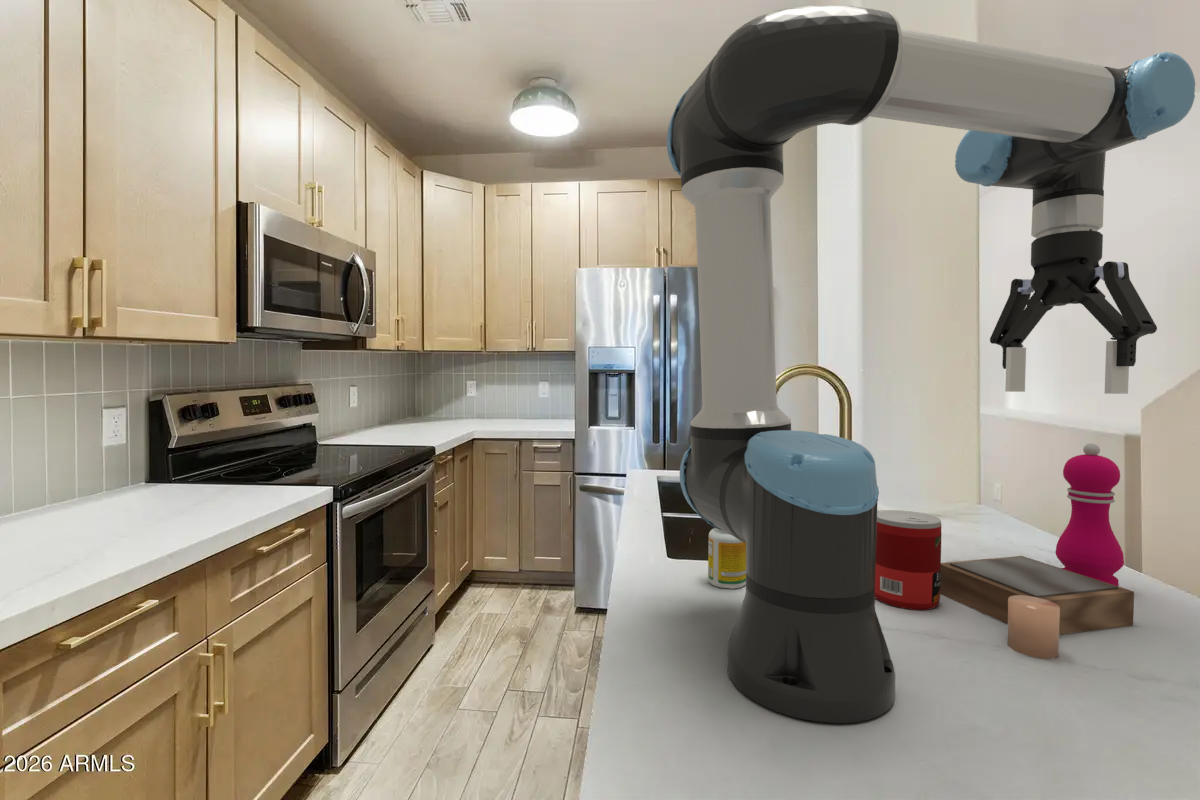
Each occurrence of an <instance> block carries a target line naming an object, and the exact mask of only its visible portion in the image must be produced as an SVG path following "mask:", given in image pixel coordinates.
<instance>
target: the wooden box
mask: <svg viewBox="0 0 1200 800" xmlns="http://www.w3.org/2000/svg"><path fill="white" fill-rule="evenodd" d="M1062 568H1063V567H1058V566H1055V565H1052V564H1048V563H1045V562H1042V561H1040V560H1035V559H1033V558H1029V557H1026V556H1023V555H1017V556H1005V557H1004V556H1003V557H992V558H981V559H971V560H959V561H950V562H949V561H948V562H941V577H940V595H942V596H945V597H947V598H948V599H951V600H954V601H956V602H958V603H960V604H962V605H965V606H966V607H968V608H971V609H973V610H976V611H978V612H979V613H982V614H985V615H986V616H989V617H990V618H993V619H996V620H997V621H1000V622H1002V623H1003V624H1006V625H1008V598H1009V597H1010V596H1014V595H1024V596H1032V597H1037V598H1042V599H1045V600H1048V601H1051V602H1053V603H1055V604H1057V605H1058V606H1059V607H1060V623H1059V636H1060V635H1067V634H1075V633H1082V632H1089V631H1098V630H1105V629H1112V628H1113V629H1114V628H1121V627H1129V626H1134V613H1135V612H1134V606H1135V591H1134V590H1131V589H1127V588H1123V587H1121V586H1119V585H1118V586H1115V585H1112V584H1109V583H1106V582H1103V581H1099V580H1096V579H1093V578H1090V577H1087V576H1084V575H1081V574H1077V573H1074V572H1071V571H1068V570H1065V569H1062Z"/></svg>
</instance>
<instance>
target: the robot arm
mask: <svg viewBox="0 0 1200 800" xmlns="http://www.w3.org/2000/svg"><path fill="white" fill-rule="evenodd" d="M1195 91H1196V77H1195V74H1194V72H1193V69H1192V68H1191V66H1190V64H1189V63H1188V62H1187V61H1186V60H1185V59H1184V58H1183V56H1181V55H1179V54H1176V53H1174V52H1168V51H1165V52H1163V51H1162V52H1159V53H1156V54H1153V55H1151V56H1150V55H1149V56H1148V57H1145V58H1143V59H1137V60H1135V61H1133V62H1132V63H1131V64H1130V65H1129V66H1127V67H1126V66H1125V67H1122V68H1117V67H1116V68H1115V67H1110V66H1102V65H1099V64H1093V63H1088V62H1082V61H1078V60H1072V59H1068V58H1062V57H1061V58H1060V57H1058V56H1057V57H1055V56H1052V55H1046V54H1042V53H1041V54H1040V53H1035V52H1029V51H1024V50H1019V49H1013V48H1008V47H1004V46H997V45H994V44H993V45H992V44H988V43H987V44H986V43H981V42H976V41H970V40H965V39H960V38H956V37H950V36H946V35H945V36H943V35H938V34H933V33H929V32H925V31H923V32H922V31H918V30H917V31H916V30H912V29H906V28H901V25H900V22H899V20H898V18H897V17H896V16H895V15H894V14H892V13H891V12H889V11H885V10H881V9H880V10H879V9H873V8H866V7H862V6H861V7H860V6H854V5H843V4H841V5H840V4H832V5H831V4H821V5H815V4H814V5H804V6H802V5H801V6H793V7H792V6H791V7H786V8H783V9H778V10H774V11H771V12H767V13H765V14H762V15H759V16H756V17H755V18H753V19H751V20H749V21H748V22H746V23H744V24H742V25H741V26H740V27H739V28H738V29H735V31H734V32H733V33H732V34H730V35H729V36H728V38H726V40H725V41H724V42H723V44H722V45H721V46H720V48H719V49H718V50H717V52H716V54H715V55H714V56H713V57H712V59H711V60H710V62H709V63H708V64H707V65H706V67H705V68H704V69H703V70H702V72H701V73H700V75H698V77H697V78H696V79H695V81H693V83H692V84H691V85H690V86H689V87H688V88H687V90H686V91H685V92H684V93H683V94H682V95H681V97H680V99H679V101H678V103H677V105H676V106H675V110H674V111H673V113H672V115H671V118H670V121H669V123H668V126H667V132H666V150H667V156H668V159H669V162H670V165H671V166H672V169H673V170H674V172H676V173H677V174H678V175H679V176H680V182H681V185H680V186H681V196H683V198H684V199H686V201H688V202H689V203H690V204H691V205H692V206H693V207H694V209H695V211H694V212H695V236H696V237H695V238H696V262H697V263H696V264H697V267H696V268H697V288H698V289H697V291H698V314H699V320H698V321H699V337H700V338H699V343H700V347H699V348H700V366H701V367H700V370H701V397H702V406H701V409H700V411H699V412H698V413H697V414H696V415H695V416H694V417H693V418H692V419H691V421H690V424H689V425H690V444H689V447H688V448H687V450H686V451H685V452H684V454H683V456H682V458H681V461H680V466H679V483H680V484H679V485H680V488H681V491H682V494H683V496H684V498H685V500H686V502H687V504H688V505H689V506H690V507H691V508H692V510H693V511H694V512H696V513H697V515H698V516H699V517H700V518H701V519H703V520H704V521H706V523H707V524H708V525H710V526H712V527H714V528H718V529H720V530H723V531H725V532H727V533H729V534H730V535H732V536H734V537H735V538H737V539H739V540H741V541H742V542H744V543H746V584H745V594H744V596H743V600H742V603H741V606H740V609H739V611H738V615H737V617H736V620H735V623H734V627H733V630H732V633H731V636H730V638H729V640H728V644H727V652H726V653H727V654H726V655H727V656H726V657H727V660H726V662H727V666H726V667H727V674H728V675H727V676H729V679H730V681H731V682H732V684H733V685H734V686H735V687H736V688H737V690H739V691H740V692H741V693H743V694H744V696H746V697H747V698H749V699H750V700H752V701H754V702H756V703H757V704H760V706H763V707H765V708H768V709H770V710H772V711H774V712H778V713H780V714H783V715H786V716H789V717H793V718H798V719H800V720H801V719H802V720H807V721H813V722H820V723H830V724H832V723H833V724H845V723H846V724H848V723H858V722H864V721H867V720H871V719H874V718H878V717H879V716H882V715H883V714H885V713H886V712H888V711H889V710H890V709H891V708H892V707H893V704H894V703H895V699H896V671H895V667H894V664H893V661H892V659H891V655H890V651H889V648H888V645H887V641H886V638H885V636H884V633H883V630H882V629H883V628H882V627H881V624H880V621H879V618H878V615H877V614H878V613H877V612H876V602H875V601H876V598H875V569H876V535H877V511H878V501H879V499H878V498H879V495H880V492H879V491H880V490H879V487H878V482H877V470H876V461H875V459H874V456H873V454H872V453H871V451H869V450H868V449H867V448H866V447H865V446H864V445H862V444H860V443H858V442H856V441H854V440H851V439H847V438H844V437H842V436H841V437H840V436H838V435H833V434H828V433H827V434H826V433H825V434H822V433H817V432H812V431H805V430H803V431H802V430H792V419H791V418H790V417H789V416H788V415H787V414H786V413H784V412H783V411H782V409H781V408H779V406H778V401H777V372H776V371H777V370H776V369H777V368H776V367H777V366H776V343H775V340H776V339H775V309H774V307H775V306H774V277H773V251H772V250H773V246H772V245H773V243H772V241H773V240H772V212H771V209H772V208H771V199H772V197H773V196H774V194H775V193H776V192H777V191H778V190H779V189H781V187H782V186H783V184H784V178H785V177H784V144H786V143H787V142H788V141H789V140H791V139H792V138H793V137H794V136H796V135H797V134H799V133H801V132H803V131H805V130H808V129H810V128H813V127H817V126H822V125H828V124H837V125H843V126H856V125H859V124H862V123H863V122H864V121H865V120H868V118H869V117H871V118H878V119H884V120H885V119H886V120H893V121H899V122H900V121H901V122H906V123H915V124H921V125H927V126H928V125H930V126H934V127H935V126H936V127H943V128H944V127H945V128H951V129H956V130H957V129H958V130H964V131H965V130H966V131H967V132H966V133H965V134H964V135H963V137H962V139H961V140H960V142H959V144H958V145H957V149H956V152H955V158H954V159H955V160H954V163H955V164H954V167H955V172H956V173H957V175H958V176H959V178H960V179H961V180H963V181H964V182H967V183H970V184H976V185H977V184H978V185H981V186H983V187H1001V188H1002V187H1003V188H1015V189H1025V190H1032V202H1031V203H1032V207H1031V208H1032V211H1031V213H1032V214H1031V234H1030V235H1031V237H1032V238H1035V239H1033V241H1032V242H1031V244H1030V266H1031V267H1032V268H1033V271H1034V273H1033V277H1032V278H1031V279H1029V278H1027V279H1025V278H1024V279H1022V278H1013V280H1012V281H1011V283H1010V288H1009V289H1010V292H1009V296H1008V298H1007V300H1006V302H1005V304H1004V307H1003V309H1002V310H1001V313H1000V315H999V318H998V320H997V321H996V324H995V327H994V329H993V331H992V334H991V336H990V338H989V342H990V344H995V345H999V346H1000V347H1001V348H1002V369H1003V370H1004V369H1005V383H1004V384H1005V386H1004V387H1005V390H1004V392H1008V393H1009V392H1010V393H1011V392H1013V393H1014V392H1015V393H1016V392H1017V393H1018V392H1020V393H1021V392H1024V393H1025V392H1026V369H1027V367H1026V365H1027V347H1025V346H1024V345H1023V343H1024V341H1026V339H1027V338H1028V337H1029V335H1030V334H1031V333H1032V331H1033V330H1034V329H1035V327H1037V325H1038V323H1039V322H1040V321H1041V319H1043V317H1044V316H1045V314H1046V313H1048V311H1050V310H1052V309H1053V308H1054V307H1062V306H1063V307H1064V306H1066V305H1069V304H1072V305H1076V304H1080V305H1082V306H1083V307H1084V308H1085V309H1086V310H1087V311H1088V312H1089V313H1090V314H1091V315H1092V316H1093V317H1094V318H1095V320H1097V322H1099V324H1101V326H1102V327H1103V328H1104V329H1105V330H1106V331H1107V332H1108V333H1109V334H1110V335H1111V336H1112V337H1110V338H1109V339H1110V340H1106V341H1105V342H1106V343H1105V370H1104V371H1105V372H1104V394H1105V395H1106V394H1107V395H1108V394H1109V395H1110V394H1112V395H1114V394H1117V395H1118V394H1122V395H1123V394H1126V395H1127V394H1129V374H1130V373H1129V371H1130V367H1134V366H1135V364H1136V362H1137V358H1136V357H1137V341H1138V340H1139V339H1140V338H1142V337H1144V336H1147V335H1152V334H1155V333H1156V332H1157V330H1158V327H1157V325H1156V323H1155V321H1154V319H1153V318H1152V315H1151V314H1150V312H1149V311H1148V309H1147V307H1146V306H1145V304H1144V302H1143V300H1142V298H1141V297H1140V295H1139V293H1138V291H1137V289H1136V287H1135V286H1134V285H1133V282H1132V281H1131V279H1130V271H1129V269H1130V268H1129V263H1127V262H1125V261H1123V262H1121V261H1106V262H1104V264H1103V265H1101V266H1100V264H1099V262H1100V261H1101V260H1102V258H1103V246H1104V245H1103V243H1104V242H1103V241H1104V235H1103V234H1102V233H1101V232H1100V231H1099V230H1100V229H1102V228H1103V227H1104V203H1105V202H1104V199H1105V197H1104V195H1105V190H1104V185H1105V182H1104V181H1105V168H1106V156H1107V155H1106V153H1107V152H1108V151H1109V152H1110V151H1112V150H1114V149H1118V148H1120V147H1123V146H1125V145H1129V144H1131V143H1135V142H1136V141H1139V142H1140V141H1142V140H1146V139H1147V138H1148V137H1149V136H1151V135H1154V134H1156V133H1159V132H1161V131H1164V130H1166V129H1169V128H1171V127H1173V126H1176V125H1178V123H1180V122H1181V121H1182V120H1183V119H1185V117H1187V115H1189V113H1190V111H1191V109H1192V107H1193V106H1194V105H1193V104H1194V101H1195V98H1196V95H1195ZM1100 280H1102V281H1103V282H1104V285H1105V287H1106V288H1107V291H1108V293H1109V294H1110V296H1111V298H1112V299H1113V301H1114V303H1115V305H1116V307H1117V308H1118V310H1117V309H1116V308H1115V306H1113V305H1112V304H1111V303H1110V302H1109V301H1108V299H1106V294H1104V293H1103V292H1102V291H1101V289H1099V288H1098V287H1097V286H1096V285H1097V284H1098V283H1099V281H1100ZM1031 293H1033V294H1031Z"/></svg>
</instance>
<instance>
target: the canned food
mask: <svg viewBox="0 0 1200 800" xmlns="http://www.w3.org/2000/svg"><path fill="white" fill-rule="evenodd" d="M941 563H942V520H941V519H940V518H939V517H937V516H935V515H932V514H929V513H924V512H919V511H918V512H917V511H913V510H911V511H910V510H900V509H899V510H898V509H887V510H886V509H884V510H877V535H876V569H875V599H876V600H878V601H879V602H882V603H883V604H886V605H888V606H892V607H896V608H900V609H904V610H905V609H906V610H915V611H917V610H918V611H926V610H931V609H934V608H936V607H937V606H938V605H939V603H940V600H941V594H940V577H941Z"/></svg>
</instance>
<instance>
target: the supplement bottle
mask: <svg viewBox="0 0 1200 800" xmlns="http://www.w3.org/2000/svg"><path fill="white" fill-rule="evenodd" d="M707 547H708V548H707V549H708V552H707V553H708V559H707V560H708V561H707V564H708V566H707V576H708V579H707V580H708V582H709V583H710V584H711V585H712V586H714V587H717V588H719V589H720V588H722V589H731V590H732V589H741V588H743V587H744V586H746V543H744V542H742V541H741V540H739V539H737V538H735V537H734V536H732V535H730V534H729V533H727V532H725V531H723V530H720V529H718V528H715V527H714V528H712V529H711V530H710V531H709V533H708V546H707Z"/></svg>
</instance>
